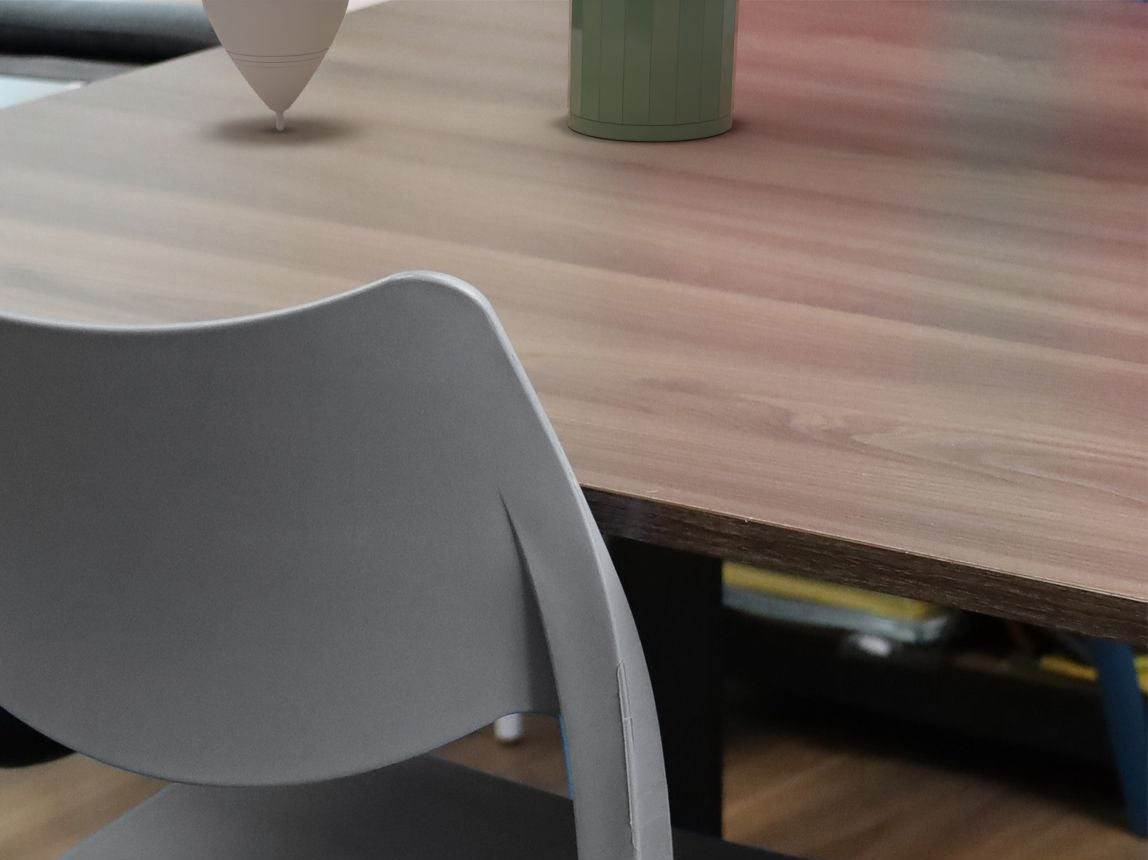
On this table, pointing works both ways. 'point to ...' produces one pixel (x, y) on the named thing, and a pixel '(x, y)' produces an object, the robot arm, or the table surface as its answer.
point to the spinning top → (276, 43)
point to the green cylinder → (652, 68)
